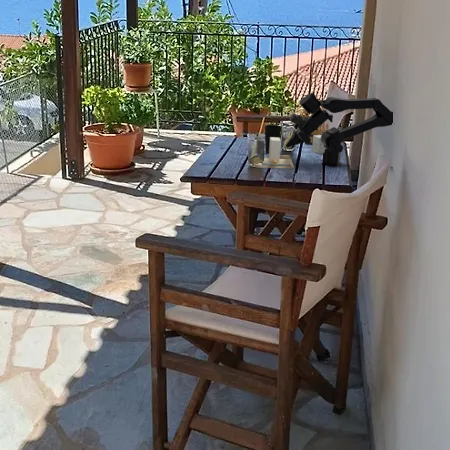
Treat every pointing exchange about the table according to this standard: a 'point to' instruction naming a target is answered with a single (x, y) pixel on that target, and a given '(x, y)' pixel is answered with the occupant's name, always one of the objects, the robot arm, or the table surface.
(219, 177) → the table surface
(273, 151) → the gauge slider
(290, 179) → the table surface
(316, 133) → the ammunition clip
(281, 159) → the frame
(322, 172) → the table surface
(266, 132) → the cup
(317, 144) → the skincare box
